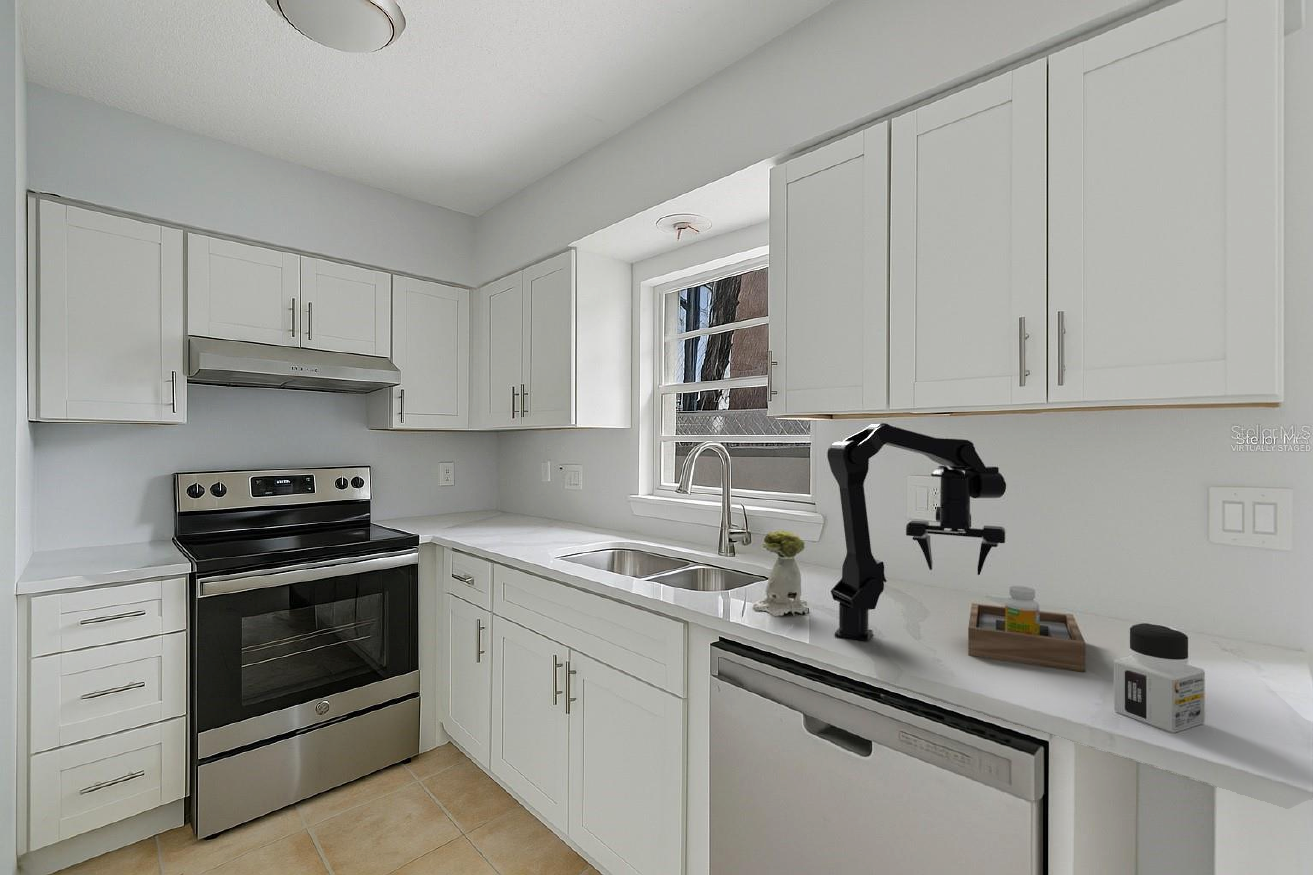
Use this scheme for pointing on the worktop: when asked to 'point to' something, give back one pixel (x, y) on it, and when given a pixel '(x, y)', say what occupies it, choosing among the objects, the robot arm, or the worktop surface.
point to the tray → (1027, 639)
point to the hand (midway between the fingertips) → (954, 572)
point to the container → (1159, 680)
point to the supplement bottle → (1022, 611)
